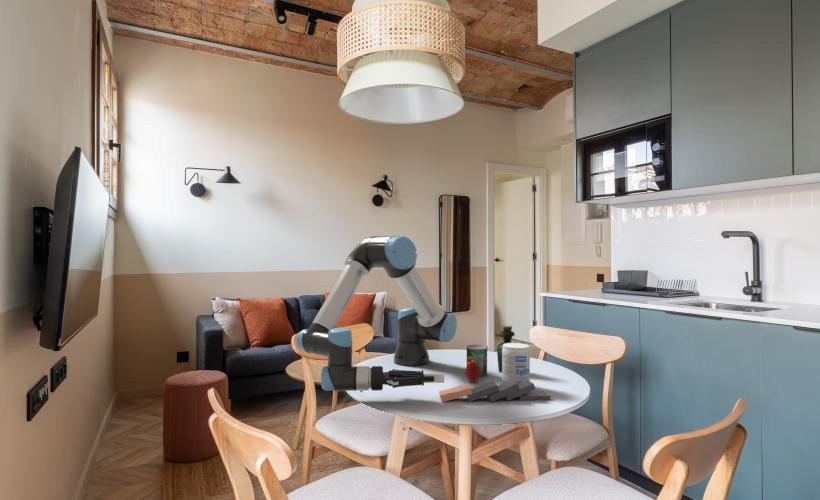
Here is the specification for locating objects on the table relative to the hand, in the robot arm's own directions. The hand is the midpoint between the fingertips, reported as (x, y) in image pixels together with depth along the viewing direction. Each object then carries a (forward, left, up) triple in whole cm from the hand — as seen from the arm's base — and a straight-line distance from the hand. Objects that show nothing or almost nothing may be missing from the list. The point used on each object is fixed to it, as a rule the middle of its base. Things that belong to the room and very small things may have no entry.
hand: (444, 377), depth 150 cm
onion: (-19, +13, -7) cm, 24 cm away
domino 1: (0, +8, -6) cm, 10 cm away
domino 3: (0, +20, -6) cm, 20 cm away
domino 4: (0, +24, -7) cm, 25 cm away
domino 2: (+1, +14, -6) cm, 15 cm away
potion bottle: (-33, +29, -7) cm, 44 cm away
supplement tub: (-13, +27, -7) cm, 31 cm away
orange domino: (0, -1, -6) cm, 6 cm away
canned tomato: (-28, +16, -7) cm, 33 cm away
